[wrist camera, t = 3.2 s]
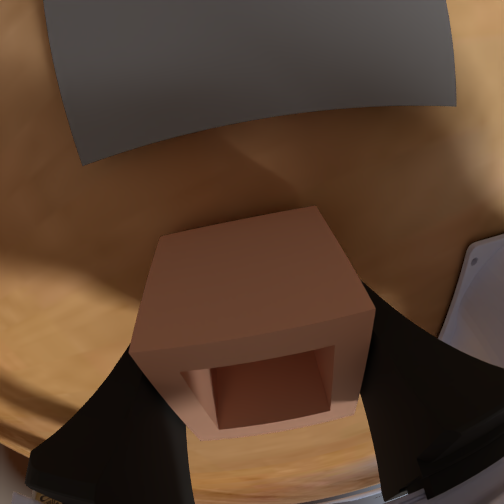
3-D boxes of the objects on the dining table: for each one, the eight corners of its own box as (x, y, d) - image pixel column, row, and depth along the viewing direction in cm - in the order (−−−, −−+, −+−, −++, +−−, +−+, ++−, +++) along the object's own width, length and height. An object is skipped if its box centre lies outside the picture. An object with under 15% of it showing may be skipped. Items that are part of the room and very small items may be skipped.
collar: (321, 315, 13) (354, 414, 9) (201, 338, 13) (200, 440, 9) (315, 205, 10) (375, 307, 6) (159, 236, 10) (128, 353, 6)
